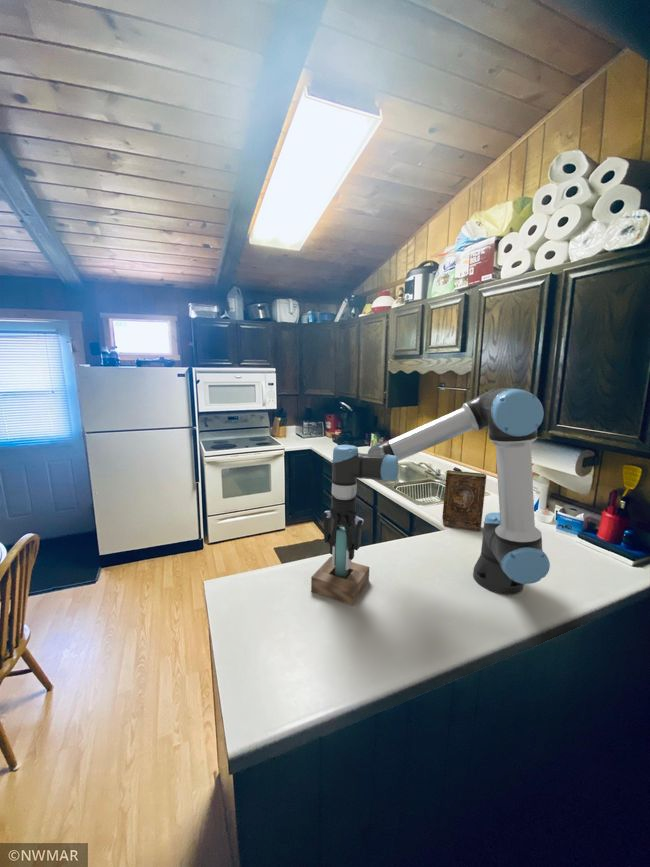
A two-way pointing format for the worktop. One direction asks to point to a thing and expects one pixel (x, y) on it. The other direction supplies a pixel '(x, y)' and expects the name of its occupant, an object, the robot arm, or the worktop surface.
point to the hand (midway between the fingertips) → (341, 565)
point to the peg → (341, 553)
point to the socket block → (340, 582)
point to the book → (464, 500)
